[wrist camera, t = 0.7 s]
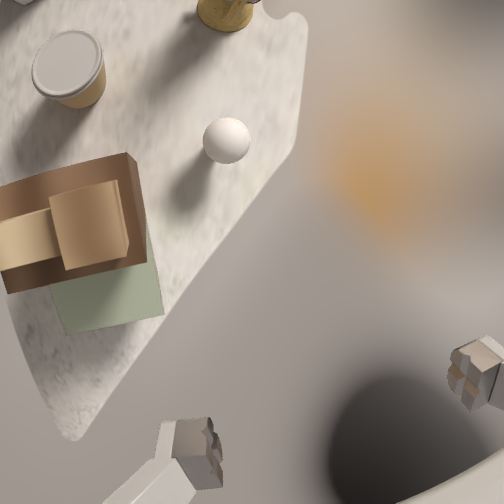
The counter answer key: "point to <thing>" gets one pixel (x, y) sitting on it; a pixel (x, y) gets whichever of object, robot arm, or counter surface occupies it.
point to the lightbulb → (226, 140)
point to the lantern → (226, 13)
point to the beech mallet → (68, 229)
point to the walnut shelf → (63, 180)
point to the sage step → (110, 296)
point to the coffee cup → (70, 68)
